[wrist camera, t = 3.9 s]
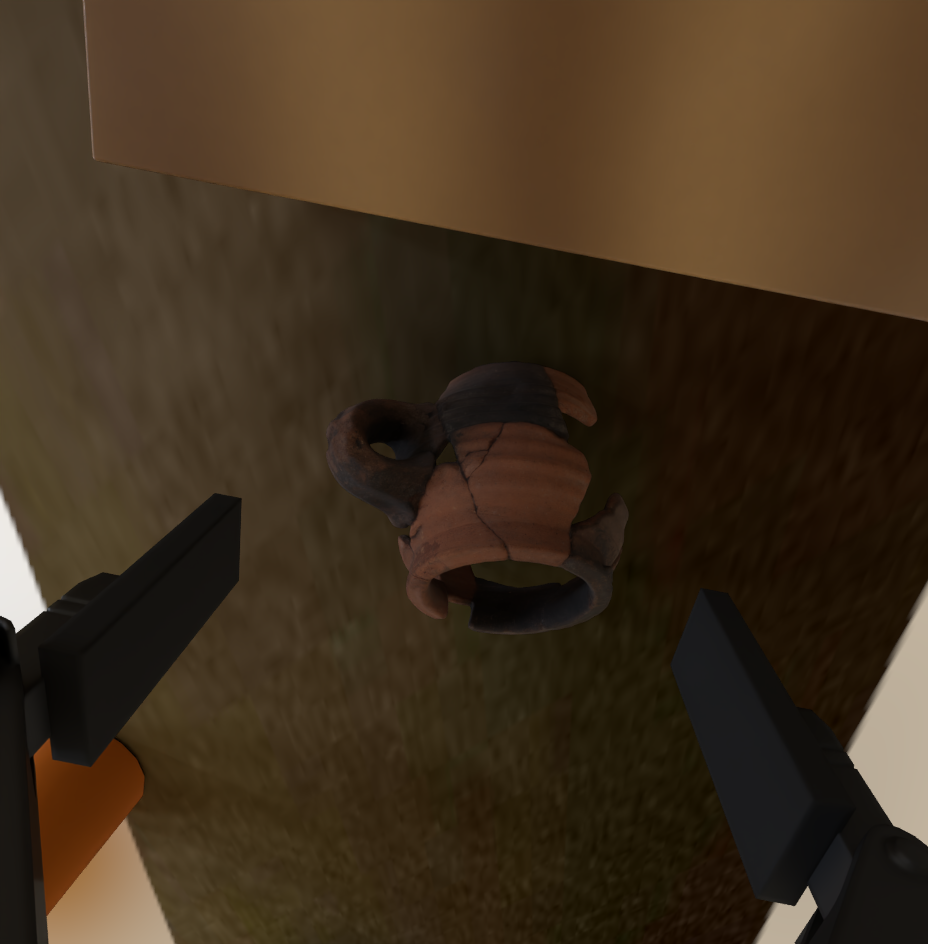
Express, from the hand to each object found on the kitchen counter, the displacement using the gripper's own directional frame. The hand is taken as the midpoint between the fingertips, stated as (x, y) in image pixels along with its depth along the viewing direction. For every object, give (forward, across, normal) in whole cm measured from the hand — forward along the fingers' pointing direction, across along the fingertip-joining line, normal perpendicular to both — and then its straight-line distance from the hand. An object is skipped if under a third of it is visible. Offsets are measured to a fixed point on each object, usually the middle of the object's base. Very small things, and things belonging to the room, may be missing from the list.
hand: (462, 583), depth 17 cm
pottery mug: (+9, 0, 0) cm, 9 cm away
